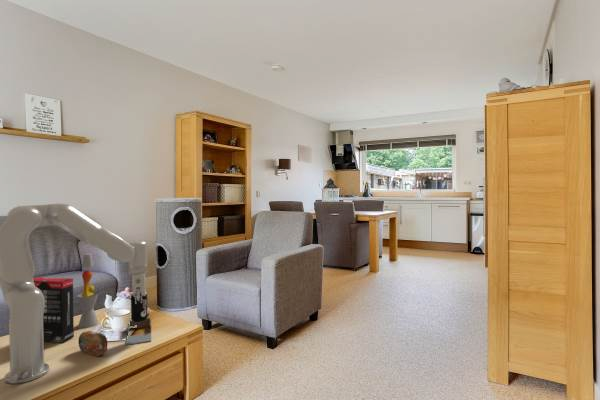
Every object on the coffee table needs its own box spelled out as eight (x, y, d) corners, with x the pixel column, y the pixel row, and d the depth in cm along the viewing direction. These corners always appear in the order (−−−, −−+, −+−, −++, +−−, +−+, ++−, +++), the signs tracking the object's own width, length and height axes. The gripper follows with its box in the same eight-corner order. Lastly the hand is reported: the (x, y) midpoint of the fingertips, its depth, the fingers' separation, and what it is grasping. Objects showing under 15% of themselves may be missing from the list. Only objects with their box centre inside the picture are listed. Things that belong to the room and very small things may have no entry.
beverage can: (137, 323, 148) (136, 296, 148) (128, 320, 152) (127, 293, 151) (150, 318, 154) (150, 292, 154) (141, 316, 157) (141, 289, 157)
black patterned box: (151, 333, 159) (151, 325, 159) (126, 337, 155) (126, 328, 155) (151, 326, 168) (151, 317, 168) (128, 329, 164) (128, 320, 164)
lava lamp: (88, 328, 165) (87, 255, 164) (72, 327, 167) (72, 255, 166) (103, 322, 173) (102, 252, 173) (88, 320, 176) (87, 252, 175)
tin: (77, 351, 142) (77, 330, 141) (85, 348, 144) (85, 328, 144) (101, 358, 135) (101, 337, 135) (109, 355, 138) (109, 334, 138)
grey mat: (151, 341, 151) (151, 340, 151) (125, 345, 147) (125, 344, 147) (151, 333, 159) (151, 332, 159) (126, 337, 155) (126, 336, 155)
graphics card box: (75, 337, 155) (74, 277, 155) (63, 344, 148) (62, 280, 148) (40, 335, 157) (39, 276, 156) (26, 342, 150) (25, 279, 149)
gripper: (147, 272, 146) (148, 314, 146) (147, 264, 162) (148, 302, 162) (127, 274, 143) (128, 317, 143) (130, 266, 159) (130, 304, 159)
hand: (139, 309), depth 153 cm, fingers closed on beverage can, 6 cm apart
